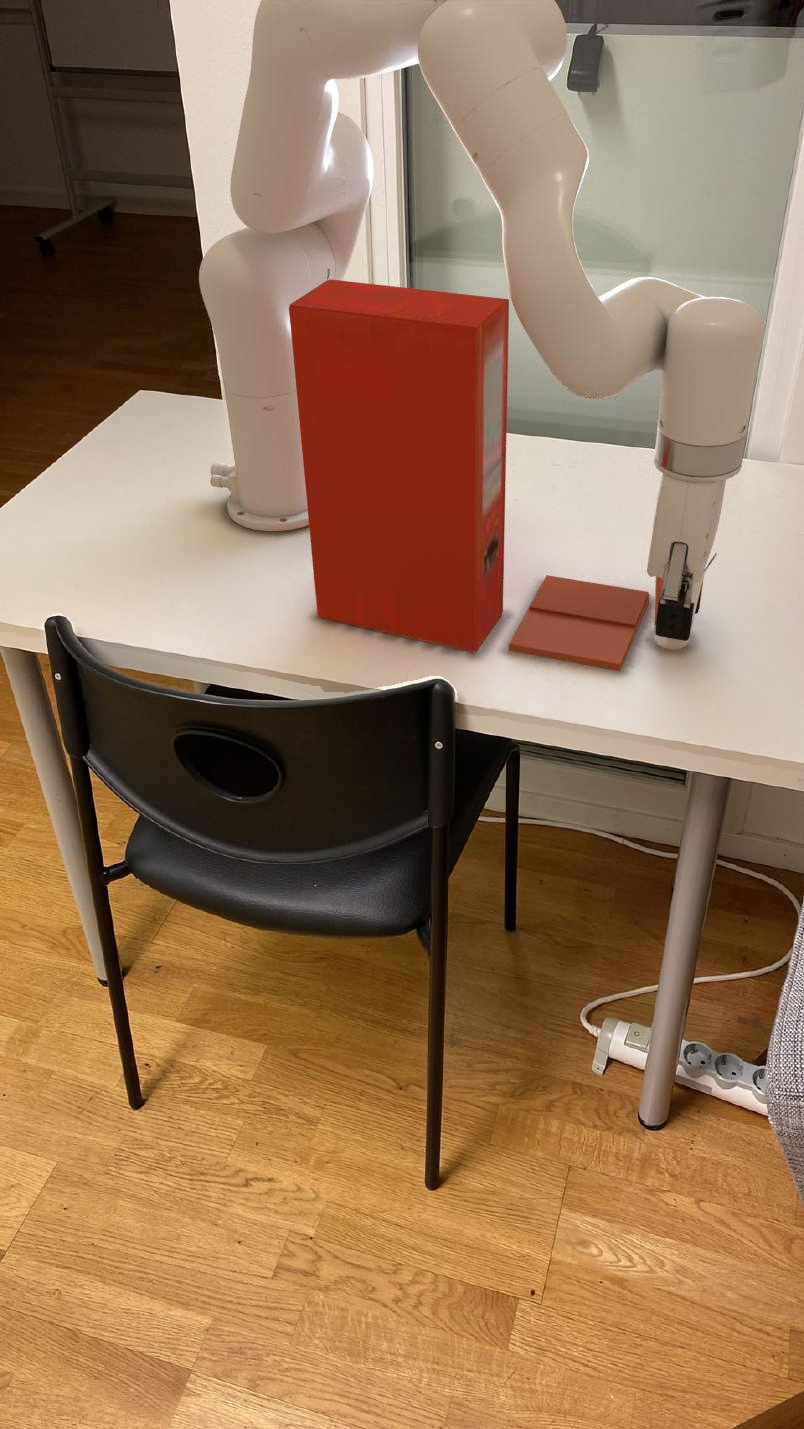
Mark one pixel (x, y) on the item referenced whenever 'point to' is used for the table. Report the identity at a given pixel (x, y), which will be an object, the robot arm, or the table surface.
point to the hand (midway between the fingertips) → (677, 621)
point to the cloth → (581, 622)
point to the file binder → (404, 456)
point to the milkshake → (678, 644)
